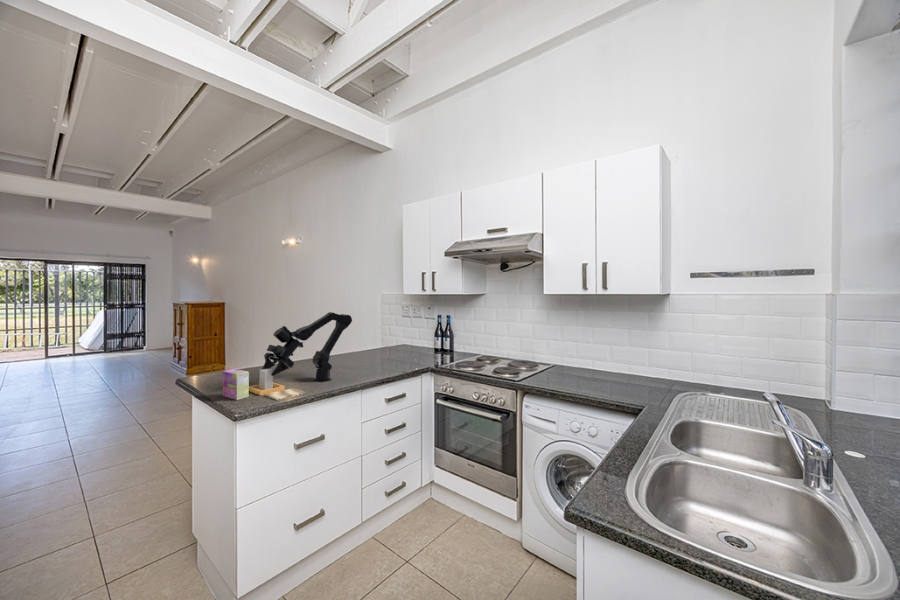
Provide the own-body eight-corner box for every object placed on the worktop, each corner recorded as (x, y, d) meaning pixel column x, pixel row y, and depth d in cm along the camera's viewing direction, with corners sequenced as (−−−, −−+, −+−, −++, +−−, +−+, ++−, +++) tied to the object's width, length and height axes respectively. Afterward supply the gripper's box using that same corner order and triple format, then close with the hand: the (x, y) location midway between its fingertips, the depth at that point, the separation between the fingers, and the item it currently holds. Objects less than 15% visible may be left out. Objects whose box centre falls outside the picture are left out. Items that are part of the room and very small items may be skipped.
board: (292, 389, 179) (292, 388, 179) (304, 393, 174) (304, 391, 173) (264, 395, 168) (264, 394, 168) (276, 400, 162) (276, 398, 162)
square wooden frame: (271, 385, 185) (271, 381, 185) (284, 390, 178) (284, 386, 178) (247, 390, 175) (247, 386, 175) (260, 395, 168) (260, 391, 168)
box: (222, 396, 165) (222, 370, 165) (234, 393, 170) (235, 368, 170) (236, 400, 160) (236, 373, 160) (248, 397, 165) (249, 371, 165)
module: (267, 388, 180) (267, 368, 179) (272, 390, 177) (273, 370, 176) (259, 390, 176) (259, 369, 176) (264, 392, 173) (265, 371, 173)
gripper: (268, 336, 186) (245, 361, 177) (288, 340, 175) (265, 366, 166) (282, 350, 192) (261, 374, 184) (303, 354, 182) (281, 380, 173)
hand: (266, 373), depth 176 cm, fingers open, 9 cm apart
